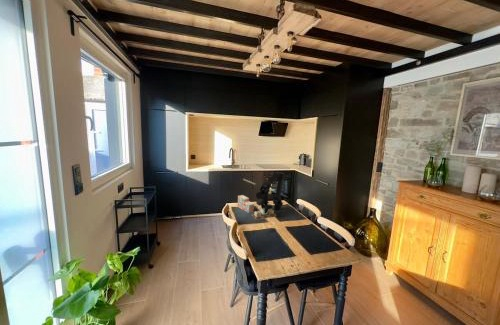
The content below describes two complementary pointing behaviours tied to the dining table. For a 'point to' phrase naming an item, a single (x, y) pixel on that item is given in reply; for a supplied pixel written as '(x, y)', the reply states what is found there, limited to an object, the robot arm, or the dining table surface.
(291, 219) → the dining table surface
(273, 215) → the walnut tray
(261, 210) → the sage block
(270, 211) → the maple block
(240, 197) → the stack of blocks
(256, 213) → the maple block
